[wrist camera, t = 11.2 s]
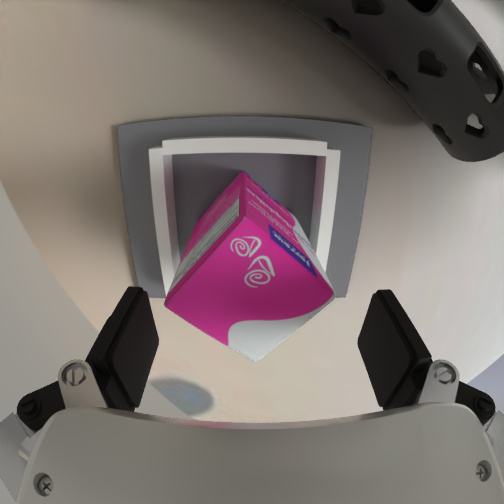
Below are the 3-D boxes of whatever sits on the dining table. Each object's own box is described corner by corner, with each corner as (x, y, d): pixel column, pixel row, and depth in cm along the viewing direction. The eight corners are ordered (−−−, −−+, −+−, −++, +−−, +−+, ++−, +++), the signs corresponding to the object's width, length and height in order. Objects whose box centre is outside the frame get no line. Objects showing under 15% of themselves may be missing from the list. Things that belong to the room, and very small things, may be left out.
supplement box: (298, 214, 22) (342, 300, 12) (248, 262, 24) (252, 368, 14) (243, 165, 20) (244, 216, 10) (194, 220, 22) (157, 311, 12)
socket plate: (367, 127, 20) (386, 129, 17) (342, 291, 27) (353, 313, 24) (122, 124, 19) (103, 127, 16) (144, 291, 26) (133, 313, 23)
